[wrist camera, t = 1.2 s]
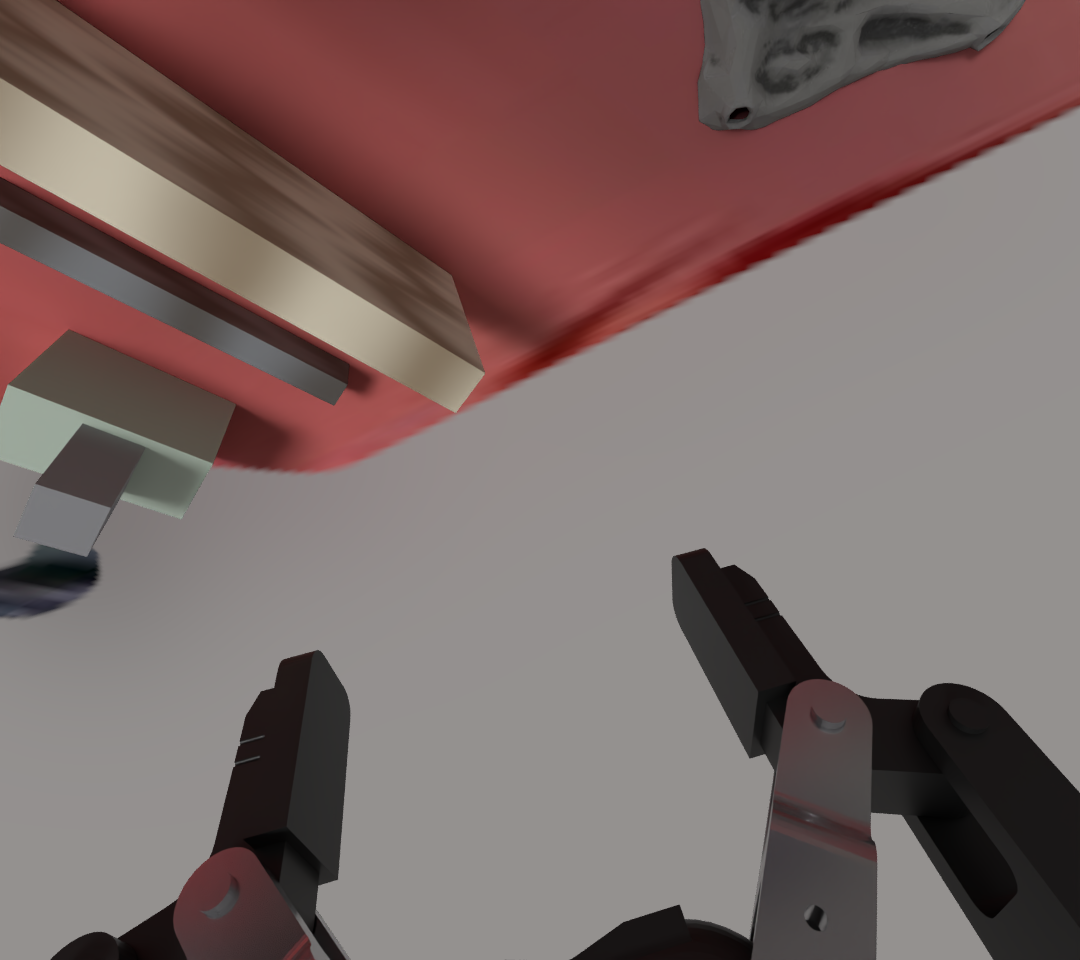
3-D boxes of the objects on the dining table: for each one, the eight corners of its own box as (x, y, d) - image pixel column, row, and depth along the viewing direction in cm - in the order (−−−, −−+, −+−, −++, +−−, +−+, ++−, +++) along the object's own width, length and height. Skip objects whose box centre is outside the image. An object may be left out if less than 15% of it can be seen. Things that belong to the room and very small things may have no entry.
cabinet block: (44, 390, 29) (-82, 520, 21) (69, 329, 28) (-57, 443, 20) (208, 454, 34) (155, 583, 25) (236, 403, 32) (189, 523, 24)
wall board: (-75, 175, 23) (-373, 257, 14) (-19, -52, 20) (-358, -141, 11) (368, 400, 34) (365, 533, 24) (451, 275, 31) (485, 373, 21)
